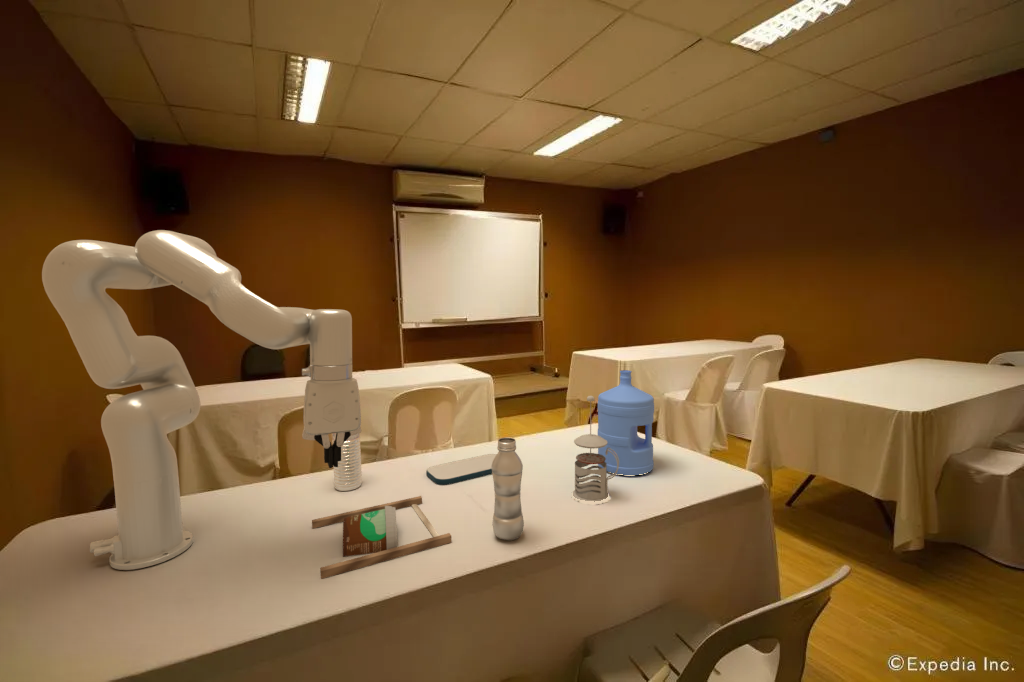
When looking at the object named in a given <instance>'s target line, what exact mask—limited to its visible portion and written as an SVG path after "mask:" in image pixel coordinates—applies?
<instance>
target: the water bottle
mask: <svg viewBox="0 0 1024 682" xmlns="http://www.w3.org/2000/svg"><path fill="white" fill-rule="evenodd" d="M331 435H332V440H331V442H332V443H331V444H333V443H334V441H335V436H336V433H331ZM361 451H362V450H361V436H360V433H359V434H356V435H353V436H350V437H349V438H348V439H347V440H346V441H345V442H344V443H343V445H342V446H341V461H338V467H334V465H333V484H334V488H335V490H337V491H338V492H349V491H353V490H357V489H358V488H360V487H361V486H362V483H363V478H362V475H363V474H362V473H363V472H362V455H361V453H362V452H361Z"/></svg>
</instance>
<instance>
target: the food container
mask: <svg viewBox="0 0 1024 682" xmlns="http://www.w3.org/2000/svg"><path fill="white" fill-rule="evenodd" d="M397 523H398V522H397V509H395V507H392V506H385V509H382V510H378V511H373V512H368V513H364V514H359V515H355V516H350V517H346V518H344V521H343V524H342V557H352V556H360V555H369V554H373V553H377V552H380V551H384V550H388V549H391V548H395V547H399V544H398V542H399V541H398V524H397Z"/></svg>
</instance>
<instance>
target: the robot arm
mask: <svg viewBox="0 0 1024 682" xmlns="http://www.w3.org/2000/svg"><path fill="white" fill-rule="evenodd" d="M41 281H42V284H43V287H44V288H43V289H44V291H45V294H46V295H47V297H48V299H49V301H50V302H51V304H52V306H53V307H54V308H55V311H57V313H58V315H59V316H60V318H61V319H62V322H64V324H65V326H66V328H67V330H68V333H69V335H70V338H71V340H72V342H73V345H74V346H75V348H76V351H77V352H78V355H79V357H80V359H81V360H82V364H83V365H84V367H85V369H86V372H87V373H88V375H89V377H90V379H91V380H92V382H94V384H96V385H97V386H98V387H100V388H104V389H108V390H115V389H123V388H128V387H134V386H138V385H140V386H141V388H142V389H141V390H138V391H135V392H131V393H127V394H125V395H122V396H120V397H118V398H116V399H114V400H113V401H112V402H111V403H109V404H108V405H107V406H106V407H105V409H104V411H103V413H102V415H101V419H100V425H101V430H102V434H103V437H104V439H105V442H106V445H107V447H108V451H109V456H110V460H111V469H112V477H113V488H114V496H115V497H114V499H115V507H116V508H115V510H116V520H117V521H116V522H117V531H118V533H117V534H118V535H114V536H112V538H108V539H100V540H95V541H91V542H90V544H89V553H90V554H91V553H93V556H94V557H97V556H102V555H105V554H109V553H110V554H111V555H110V556H109V558H108V559H109V565H110V567H111V568H113V569H115V570H121V571H122V570H123V571H132V570H139V569H143V568H148V567H151V566H154V565H158V564H162V563H163V562H167V561H168V560H171V559H174V558H175V557H177V556H179V555H180V554H182V553H184V552H185V551H186V550H188V549H189V548H190V547H191V546H192V544H193V543H194V536H193V533H192V532H191V531H188V530H183V516H182V505H181V503H182V502H181V491H180V478H179V467H178V465H179V464H178V458H177V454H176V451H175V448H174V446H173V445H172V443H171V442H170V440H169V438H168V434H169V433H172V432H174V431H177V430H179V429H181V428H184V427H186V426H188V425H190V424H191V423H193V422H194V421H195V420H196V419H197V418H198V416H199V414H200V411H201V400H200V396H199V393H198V390H197V387H196V385H195V384H194V381H193V379H192V376H191V375H190V372H189V370H188V368H187V365H186V363H185V361H184V359H183V357H182V355H181V353H180V351H179V350H178V349H177V348H176V347H175V345H174V344H173V343H171V342H170V341H169V340H168V339H166V338H163V337H162V336H156V335H137V333H136V332H135V331H134V330H135V329H133V327H132V324H131V323H130V321H129V318H128V315H127V314H126V312H125V311H124V309H123V308H122V306H120V304H118V302H117V301H116V300H115V299H114V298H113V297H111V296H110V295H109V294H108V293H107V292H106V289H115V290H116V289H118V290H119V289H120V290H147V289H154V288H161V287H166V286H171V285H173V286H175V288H178V289H180V290H182V291H183V292H185V293H187V294H188V295H190V296H191V297H193V298H195V299H197V300H198V301H199V302H202V303H203V304H205V305H206V306H207V307H208V308H209V310H210V311H211V313H212V314H213V315H214V316H215V317H216V318H217V319H218V320H219V322H221V323H222V324H224V326H225V327H227V328H228V329H230V330H231V331H232V332H235V333H237V334H238V335H240V336H242V337H244V338H245V339H247V340H249V341H250V342H253V343H254V344H256V345H259V346H260V347H263V348H266V349H269V350H270V349H271V350H283V349H287V348H288V349H289V348H292V347H299V346H303V345H309V355H310V356H309V362H310V363H309V365H308V367H305V368H303V367H302V368H301V376H306V377H309V378H310V379H307V381H306V383H305V388H304V398H303V410H302V411H303V416H302V417H303V420H302V421H303V430H302V434H301V437H302V439H303V440H308V441H316V442H317V443H318V444H319V445H321V446H322V447H323V461H324V464H327V465H328V469H333V468H334V467H338V461H341V446H342V445H343V443H344V442H345V441H346V440H347V439H348V438H349V437H350V436H353V435H356V434H359V435H360V434H361V433H362V427H361V424H362V413H361V412H362V411H361V401H360V400H361V399H360V390H359V384H358V380H357V378H355V377H353V318H352V317H353V316H352V314H351V312H350V311H348V310H345V309H337V308H336V309H335V308H334V309H332V308H326V309H325V308H319V309H309V308H304V307H295V306H294V307H293V306H292V307H291V306H287V307H286V306H280V307H279V306H276V305H274V304H272V303H271V302H269V301H267V300H266V299H263V298H262V297H261V296H259V295H258V294H255V293H254V292H252V291H251V290H250V289H248V288H246V286H245V285H244V284H242V275H241V272H240V270H239V268H236V267H235V266H233V264H232V265H231V264H230V263H228V262H226V261H225V260H223V259H221V258H219V256H217V253H216V251H215V249H214V248H213V246H211V245H210V244H209V243H208V242H206V241H205V240H204V239H201V238H199V237H196V236H193V235H188V234H184V233H179V232H176V231H173V230H165V229H157V230H152V231H148V232H146V233H144V234H142V235H141V236H140V237H139V238H138V239H137V241H136V243H135V245H134V246H130V245H124V244H118V243H115V242H114V243H113V242H110V241H109V242H108V241H102V240H101V241H100V240H93V239H76V240H69V241H65V242H62V243H60V244H59V245H57V246H56V247H54V248H53V249H52V250H51V251H50V252H49V253H48V254H47V256H46V258H45V260H44V262H43V265H42V269H41ZM332 433H336V436H335V441H334V443H331V442H332V441H330V436H329V435H330V434H331V435H332ZM333 465H334V466H333Z"/></svg>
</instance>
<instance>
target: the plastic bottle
mask: <svg viewBox="0 0 1024 682" xmlns="http://www.w3.org/2000/svg"><path fill="white" fill-rule="evenodd" d="M516 442H517V441H516V439H515V437H514V438H513V437H501V438H499V439H497V451H498V452H497V453H496V454H497V455H496V456H495V458H494V460H493V462H492V466H491V467H492V474H491V475H492V480H493V487H494V489H493V490H494V505H493V506H494V508H493V509H494V510H493V515H492V525H491V526H492V530H493V533H494V535H495V536H496V537H497V538H498V539H501V541H502V540H503V541H513V540H516V539H518V538H520V536H521V535H523V532H524V526H525V520H524V515H523V511H522V502H521V499H522V498H521V489H522V488H521V486H522V485H521V484H522V476H523V467H524V466H523V462H522V459H521V458H520V456H519V454H518V453H517V452H516V450H517V443H516Z"/></svg>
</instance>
